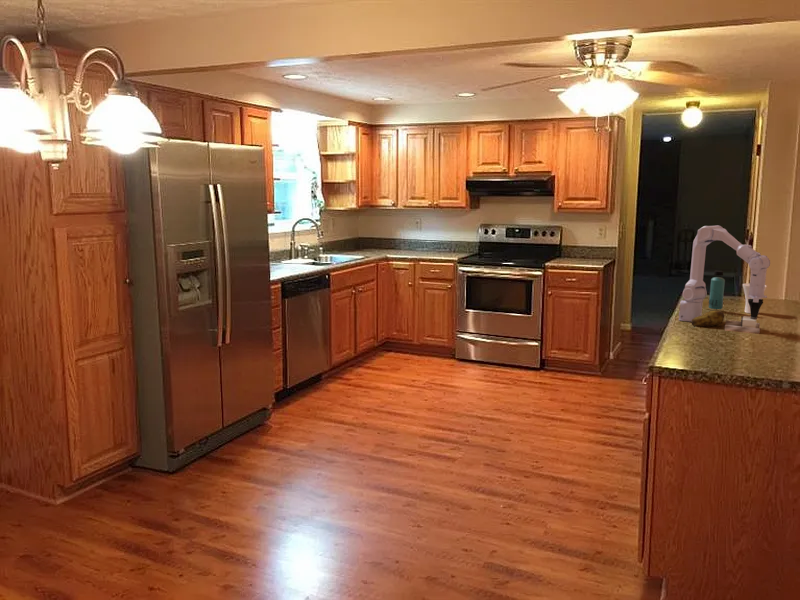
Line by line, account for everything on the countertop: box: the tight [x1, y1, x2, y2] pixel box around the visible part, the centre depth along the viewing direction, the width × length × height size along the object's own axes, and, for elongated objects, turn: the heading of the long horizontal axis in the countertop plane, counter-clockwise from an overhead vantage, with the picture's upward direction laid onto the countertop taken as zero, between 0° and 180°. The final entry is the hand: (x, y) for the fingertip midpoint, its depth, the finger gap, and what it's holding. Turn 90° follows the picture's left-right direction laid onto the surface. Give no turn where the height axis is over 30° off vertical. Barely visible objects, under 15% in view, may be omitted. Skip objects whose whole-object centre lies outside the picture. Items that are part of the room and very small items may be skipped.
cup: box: [742, 282, 768, 314], centre depth 325 cm, size 10×10×14 cm
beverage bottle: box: [708, 270, 726, 310], centre depth 327 cm, size 6×7×20 cm
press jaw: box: [740, 315, 758, 328], centre depth 283 cm, size 6×9×8 cm, turn 152°
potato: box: [690, 309, 725, 328], centre depth 290 cm, size 8×13×8 cm, turn 67°
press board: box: [724, 319, 761, 335], centre depth 285 cm, size 13×14×3 cm
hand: (754, 316), depth 282 cm, fingers closed
